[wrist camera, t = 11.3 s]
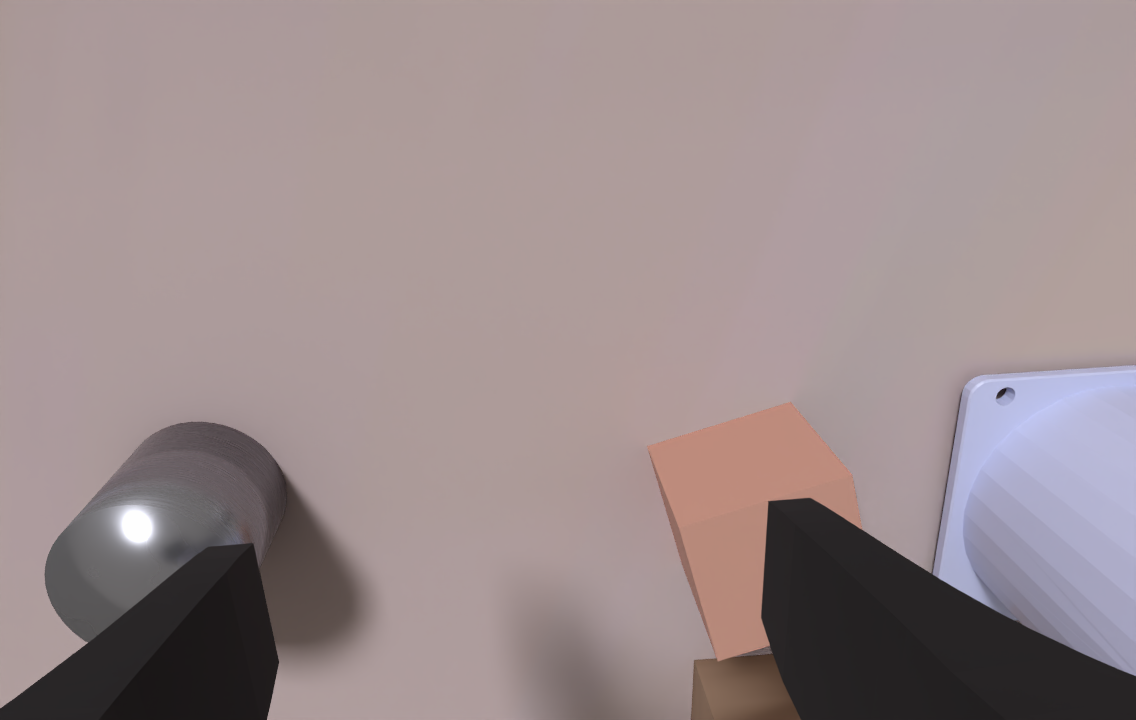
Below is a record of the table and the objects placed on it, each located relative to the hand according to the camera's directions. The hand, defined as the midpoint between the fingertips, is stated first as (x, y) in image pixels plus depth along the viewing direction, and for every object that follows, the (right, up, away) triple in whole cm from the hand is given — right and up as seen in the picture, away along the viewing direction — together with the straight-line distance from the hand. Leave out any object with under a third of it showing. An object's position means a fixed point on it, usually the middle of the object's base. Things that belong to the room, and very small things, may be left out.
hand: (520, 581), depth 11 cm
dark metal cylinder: (-9, 0, +10) cm, 13 cm away
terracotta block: (+5, 0, +11) cm, 12 cm away
